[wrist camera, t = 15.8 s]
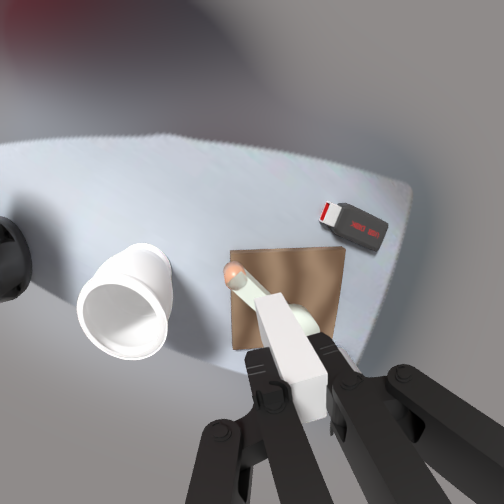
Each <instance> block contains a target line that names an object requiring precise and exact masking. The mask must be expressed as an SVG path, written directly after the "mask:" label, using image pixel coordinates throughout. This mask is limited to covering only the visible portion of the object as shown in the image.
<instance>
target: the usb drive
mask: <svg viewBox="0 0 504 504" xmlns="http://www.w3.org/2000/svg"><path fill="white" fill-rule="evenodd" d="M319 221H320V222H322V223H325V224H327V225H329V228H330V229H331V231H332V232H333V233H334V234H336V235H338V236H340V237H342V238H345V239H347V240H350V241H352V242H355V243H357V244H359V245H362V246H364V247H367V248H369V249H371V250H374V251H376V252H377V251H378V250H379V248H380V246H381V243H382V241H383V239H384V236H385V234H386V232H387V229H388V223H386V222H384V221H382V220H381V219H379V218H377V217H375V216H373V215H371V214H369V213H367V212H365V211H363V210H361V209H359V208H356V207H354V206H352V205H350V204H347V203H339V204H337V205H336V204H334V203H331V202H329V201H326V204H325V206H324V209H323V211H322V213H321V216H320V218H319Z"/></svg>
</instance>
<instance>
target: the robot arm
mask: <svg viewBox="0 0 504 504" xmlns="http://www.w3.org/2000/svg"><path fill="white" fill-rule="evenodd" d="M31 273H32V264H31V257H30V252H29V249H28V246H27V243H26V241H25V239H24V237H23V235H22V233H21V231H20V230H19V229H18V227H17V226H16V225H15V224H14V223H13V222H12V221H10V220H9V219H7V218H5V217H2V216H0V303H2V302H6V301H9V300H13V299H15V298H17V297H18V296H19V295H20V294H22V293H23V292H24V291H25V290H26V289H27V287H28V285H29V283H30V279H31ZM254 303H255V308H256V314H257V319H258V325H259V330H260V335H261V340H262V343H263V346H264V348H261V349H257V350H252V351H248V352H247V354H246V357H245V359H244V360H245V365H246V369H247V373H248V378H249V382H250V386H251V391H252V398H253V401H254V404H253V408H252V409H251V411H250V412H249V413H248V414H247V415H245V416H244V417H242V418H241V419H238V420H236V421H232V420H228V419H219V420H215V421H213V422H211V423H210V424H208V425H207V426H206V427H205V428H204V431H203V432H202V436H201V440H200V444H199V448H198V452H197V457H196V461H195V465H194V469H193V473H192V477H191V481H190V485H189V489H188V493H187V497H186V502H185V504H250V495H251V485H252V474H253V465H255V464H257V463H259V462H261V461H263V460H265V459H267V458H268V460H269V463H270V467H271V471H272V475H273V478H274V482H275V485H276V489H277V492H278V496H279V499H280V503H281V504H334V503H333V501H332V499H331V496H330V493H329V491H328V488H327V486H326V484H325V481H324V479H323V476H322V474H321V472H320V469H319V467H318V464H317V461H316V459H315V456H314V454H313V451H312V449H311V447H310V444H309V442H308V439H307V436H306V434H305V431H304V429H303V426H302V424H305V423H308V422H312V421H315V420H318V419H321V418H324V417H326V416H327V411H328V413H329V415H330V417H331V423H330V435H331V436H332V435H333V432H334V433H335V435H336V437H337V439H338V442H339V443H340V446H341V448H342V450H343V452H344V454H345V456H346V458H347V460H348V462H349V464H350V466H351V469H352V471H353V473H354V475H355V477H356V479H357V481H358V483H359V485H360V487H361V489H362V491H363V493H364V495H365V497H366V500H367V502H368V504H451V502H450V500H449V499H448V497H447V496H446V494H445V493H444V491H443V490H442V488H441V487H440V485H439V484H438V482H437V481H436V479H435V478H434V476H433V475H432V473H431V471H430V470H429V468H428V467H427V465H426V464H425V462H426V463H427V464H428V465H429V466H430V467H432V468H433V469H434V470H435V471H436V472H438V473H439V474H440V475H441V476H442V477H444V478H445V479H446V480H447V481H449V482H450V483H451V484H452V485H454V486H455V487H456V488H457V489H459V490H460V491H461V492H462V493H464V494H465V495H466V496H467V497H469V498H470V499H471V500H473V501H474V502H475V503H476V504H504V427H503V426H501V425H500V424H498V423H497V422H495V421H494V420H492V419H491V418H489V417H488V416H486V415H485V414H483V413H481V412H480V411H479V410H477V409H476V408H474V407H473V406H471V405H470V404H468V403H467V402H465V401H464V400H462V399H461V398H459V397H458V396H456V395H455V394H453V393H452V392H450V391H449V390H447V389H446V388H444V387H443V386H441V385H440V384H439V383H437V382H436V381H434V380H433V379H431V378H429V377H428V376H427V375H425V374H424V373H422V372H420V371H419V370H418V369H416V368H415V367H413V366H410V365H406V364H401V365H397V366H394V367H392V368H391V369H390V370H389V372H388V375H387V376H381V377H370V378H368V377H365V376H364V375H363V374H361V373H359V372H356V371H354V370H353V369H352V368H351V366H350V365H349V363H348V362H347V360H346V359H345V357H344V356H343V355H342V353H341V352H340V351H339V349H338V347H337V346H336V345H335V343H334V342H333V340H332V339H331V337H330V336H328V335H326V334H325V333H323V332H320V333H316V334H313V335H309V336H306V335H305V333H304V331H303V329H302V328H301V326H300V324H299V323H298V321H297V319H296V317H295V316H294V314H293V312H292V310H291V309H290V307H289V305H288V304H287V302H286V300H285V298H284V297H283V295H282V293H281V292H280V293H276V294H272V295H267V296H263V297H258V298H254Z"/></svg>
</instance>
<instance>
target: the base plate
mask: <svg viewBox="0 0 504 504" xmlns="http://www.w3.org/2000/svg"><path fill="white" fill-rule="evenodd" d="M345 251H346V249H345V248H343V247H342V246H339V247H311V248H284V249H257V250H231V251H230V262H232V261H237V262H239V263H241V264H242V266H243V267H244V268H245V269H246V270H247V271H248V272H249V273H250V274H251V275H252V276H253V277H254V278H255V279H256V280H257V281H258V282H259V283H260V284H261V285H262V286H263V287H264V288H265V289H266V290H267V291H268V292H269V293H270V294H271V295H272V294H276V293H280V292H281V293H282V295H283V297H284V298H285V300H286V301H288V302H289V303H290V304H299V305H302V306H304V307H305V308H306V309H307V310H308V311H309V313H310V314H311V316H312V317H313V319H314V320H315V322H316V323H317V324H318V326H319V328H320V332H323V333H325V334H326V335H328V336H330V337H331V339H332V337H333V332H334V327H335V321H336V315H337V309H338V303H339V296H340V290H341V283H342V275H343V268H344V260H345ZM231 322H232V347H233V350H238V349H251V348H262V347H264V346H263V343H262V340H261V335H260V330H259V325H258V319H257V314H256V311H255V310H253V309H252V308H251V307H250V306H249V305H248V304H247V303H246V302H245V301H243V300H242V299H241V298H240V297H239V296H238V295H237V294H236V293H235V292H234V291H232V290H231Z"/></svg>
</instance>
